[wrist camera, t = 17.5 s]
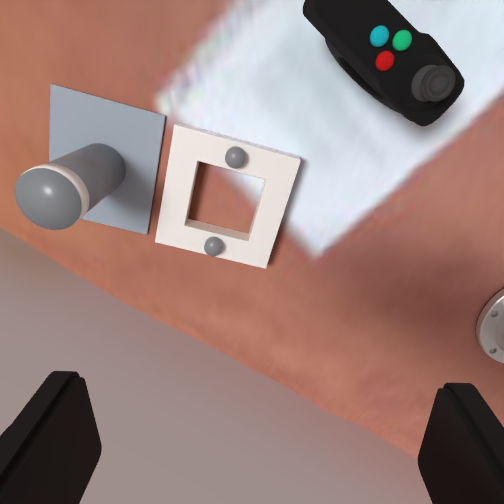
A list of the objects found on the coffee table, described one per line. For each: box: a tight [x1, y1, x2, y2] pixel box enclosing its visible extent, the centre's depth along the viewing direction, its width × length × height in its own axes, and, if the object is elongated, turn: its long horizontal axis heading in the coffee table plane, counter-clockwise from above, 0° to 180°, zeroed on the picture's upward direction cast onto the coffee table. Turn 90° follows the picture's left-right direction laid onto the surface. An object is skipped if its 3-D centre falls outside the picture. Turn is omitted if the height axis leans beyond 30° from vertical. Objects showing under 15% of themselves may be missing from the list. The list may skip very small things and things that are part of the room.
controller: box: [303, 0, 464, 126], centre depth 26 cm, size 4×12×10 cm, turn 52°
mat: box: [49, 84, 166, 235], centre depth 34 cm, size 10×12×1 cm
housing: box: [155, 122, 301, 269], centre depth 34 cm, size 12×12×3 cm
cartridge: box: [15, 143, 126, 230], centre depth 29 cm, size 5×5×10 cm
